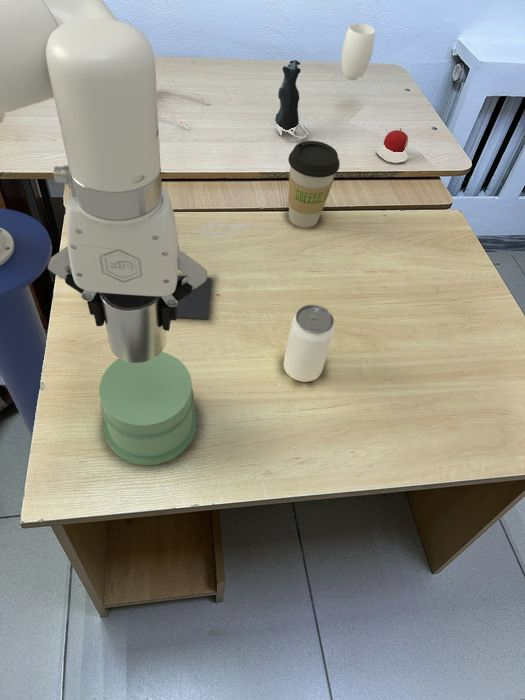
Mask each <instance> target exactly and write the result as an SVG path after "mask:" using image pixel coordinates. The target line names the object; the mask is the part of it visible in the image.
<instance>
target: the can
mask: <svg viewBox="0 0 525 700" xmlns="http://www.w3.org/2000/svg"><path fill="white" fill-rule="evenodd" d="M334 333H335V319H334V316H333V314H332V313H331V311H330V310H328V309H327V308H325V307H324V306H322V305H319V304H306V305H303V306H302V307H300V308H299V309H298V310H297V311H296V313H295V315H294V316H293V318H292V320H291V323H290V328H289V333H288V338H287V343H286V348H285V353H284V359H283V370H284V371H285V372H286V374H287V375H288V377H290V378H292V379H293V380H295V381H298V382H304V383H305V382H306V383H308V382H312V381H315V380H317V379H318V378H319V377H320V376H321V374H322V372H323V371H324V366H325V364H326V360H327V357H328V353H329V351H330V348H331V347H330V346H331V343H332V341H333V338H334Z"/></svg>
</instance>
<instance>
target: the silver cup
mask: <svg viewBox="0 0 525 700" xmlns="http://www.w3.org/2000/svg"><path fill="white" fill-rule="evenodd" d="M99 294H100V299H101V304H102V309H103V314H104V319H105V321H104V325H105V330H106V335H107V339H108V344H109V348H110V351H111V353H112V354H113V355H114V356H115V357H116V358H118V359H121V360H123V361H126V362H131V363H142V362H146V361H149V360H152V359H154V358H155V357H157V356H158V355H159V354H160V353H161V352H164V350H165V347H166V345H167V344H166V343H167V331H165V330H164V329H163V325H162V311H161V307H162V300H163V299H162V297H161V296H142V295H126V294H113V293H101V292H99Z"/></svg>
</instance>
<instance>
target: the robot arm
mask: <svg viewBox="0 0 525 700" xmlns="http://www.w3.org/2000/svg"><path fill="white" fill-rule="evenodd" d="M156 81H157V73H156V60H155V53H154V50H153V47H152V44H151V42H150V40H149V39H148V38H147V36H146V35H145V34H144V32H142V31H140V30H139V29H138V28H137V27H135V26H133V25H131V24H130V23H127V22H124V21H121V20H119V19H118V18H117V16H116V15H115V14H114V13H113V11H112V10H111V9H110V8H109V7H108V5H107V4H106V3H105V1H104V0H0V125H1V124H2V123H3V122H4V119H5V117H6V114H7V113H11V112H14V111H17V110H20V109H23V108H26V107H30V106H32V105H35V104H39V103H42V102H45V101H48V100H51V99H54V103H55V107H56V113H57V117H58V123H59V128H60V132H61V137H62V141H63V147H64V151H65V157H66V160H67V161H66V162H67V165H63V166H57V165H55V166H54V167H53V180H54V182H55V183H59V184H63V185H65V186H68V187H69V189H70V191H69V194H68V196H67V198H66V200H65V231H66V239H67V240H66V241H67V242H66V243H67V246H65V247H64V248H62V249H61V250H60V251H58V252H57V253H55V254H54V255H53V256H51V258H50V261H49V263H48V265H47V270H49V271H50V272H51V273H53V274H54V275H55V276H57V277H58V278H60V280H62V279H63V280H64V283H65V284H66V285H67V286H68V287H71V288H72V289H73V290H75V291H76V292H78V293H80V294H81V299H82V300H83V301H85V302H87V307H88V311H89V315H90V316H94V322H95V326H96V327H103V326H104V325H105V319H104V314H103V309H102V304H101V299H100V294H99V292H101V293H113V294H126V295H142V296H161V297H162V299H163V300H162V307H161V311H162V325H163V329H164V330H165V331H166V332H170V328H171V321H177V319H178V318H177V302H178V301H179V300H181V299H182V298H184V297H186V296H187V295H189V294H190V293H191V292H192V290H193V289H194V288H195V289H196V288H197V287H199V286H200V285H201V284H203V283H204V282H205V281H206V278H207V277H208V270H207V269H206V268H205V267H204V266H202V265H201V264H200V263H198V262H197V261H196V260H194V259H193V258H191V257H190V256H189V255H188V254H186V253H185V252H183V251H182V250H181V249H180V245H179V244H180V243H179V235H178V229H177V221H176V217H175V212H174V208H173V205H172V201H171V198H170V195H169V193H168V191H167V190H166V188H164V187H163V186H162V167H161V165H162V164H161V149H160V148H161V147H160V125H159V113H158V111H159V110H158V107H159V106H158V92H157V83H156ZM14 247H15V246H14V241H13V238H12V236H11V235H10V234H9V233H8V232H7V231H6V230H4V229H2V228H0V265H2V264H4V263H5V262H6V261H7V260H8V259H9V258H10V257H11V256H12V254H13V252H14ZM179 271H180V272H181V273H182V274H184V275H182V276H183V277H182V278H180V279H179V280H178V276H179Z"/></svg>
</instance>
